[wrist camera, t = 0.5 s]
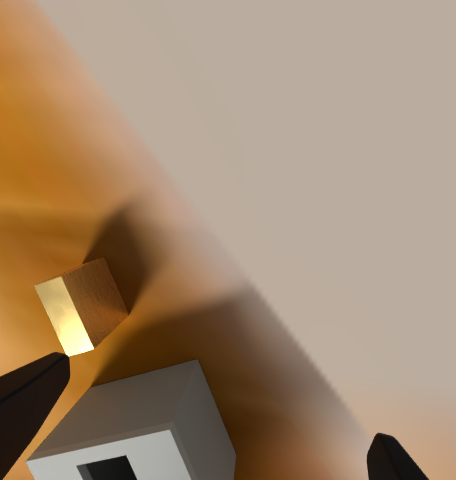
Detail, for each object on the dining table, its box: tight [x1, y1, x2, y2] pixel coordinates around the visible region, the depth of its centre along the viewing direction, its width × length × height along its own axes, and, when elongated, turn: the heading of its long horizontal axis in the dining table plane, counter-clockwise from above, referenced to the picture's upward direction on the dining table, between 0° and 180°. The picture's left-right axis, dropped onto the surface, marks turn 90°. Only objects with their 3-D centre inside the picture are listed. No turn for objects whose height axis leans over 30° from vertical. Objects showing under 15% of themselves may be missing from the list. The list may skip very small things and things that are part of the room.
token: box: [35, 257, 129, 356], centre depth 22 cm, size 2×5×5 cm, turn 20°
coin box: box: [26, 359, 236, 480], centre depth 22 cm, size 10×9×7 cm
